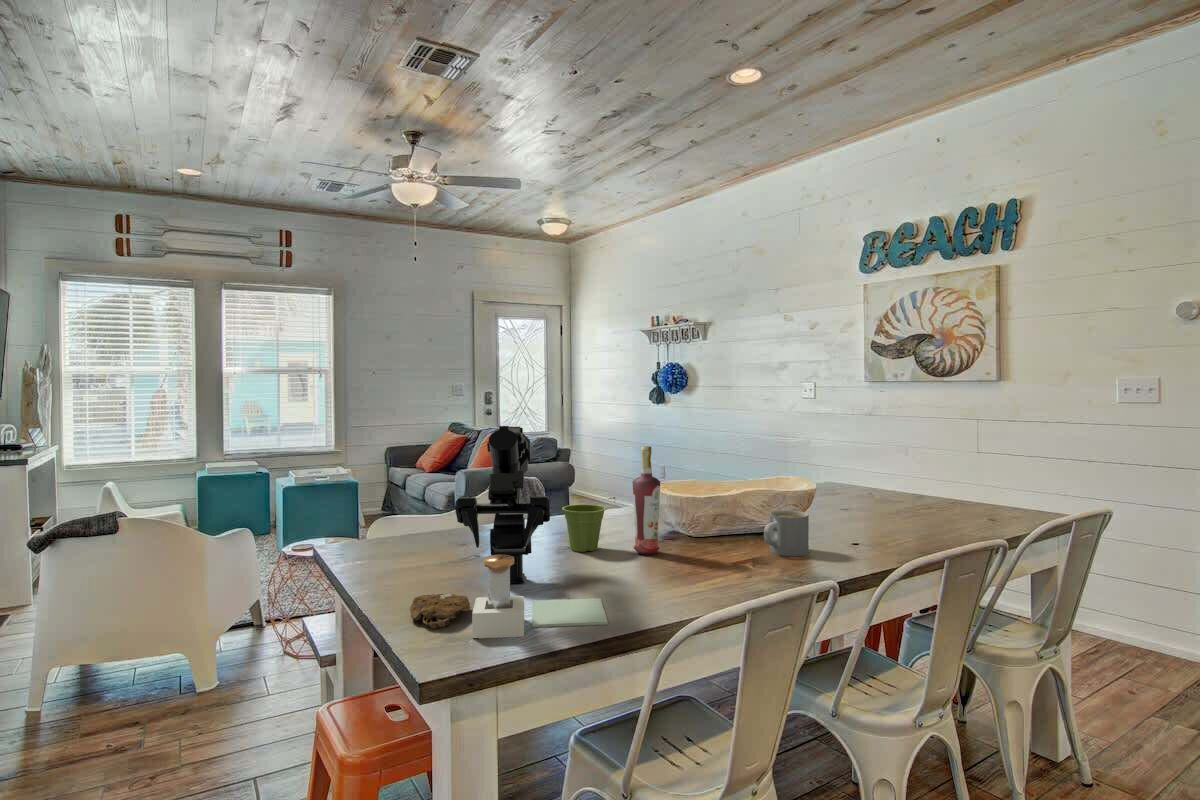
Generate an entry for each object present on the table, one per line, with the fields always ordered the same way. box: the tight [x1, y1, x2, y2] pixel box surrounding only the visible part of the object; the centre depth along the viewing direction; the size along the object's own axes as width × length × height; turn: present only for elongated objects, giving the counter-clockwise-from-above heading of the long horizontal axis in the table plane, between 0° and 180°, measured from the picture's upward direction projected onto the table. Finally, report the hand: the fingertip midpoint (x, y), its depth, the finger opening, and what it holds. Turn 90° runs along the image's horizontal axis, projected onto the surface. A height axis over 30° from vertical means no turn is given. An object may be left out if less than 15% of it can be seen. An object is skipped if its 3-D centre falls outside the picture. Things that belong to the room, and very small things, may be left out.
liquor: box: [632, 446, 661, 556], centre depth 182 cm, size 7×7×28 cm
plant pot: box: [561, 503, 607, 553], centre depth 187 cm, size 12×12×11 cm
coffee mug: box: [763, 509, 810, 557], centre depth 183 cm, size 13×10×10 cm
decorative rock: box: [409, 593, 471, 629], centre depth 134 cm, size 11×4×15 cm
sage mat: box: [531, 597, 609, 628], centre depth 135 cm, size 14×14×1 cm
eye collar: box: [471, 595, 525, 639], centre depth 127 cm, size 9×9×4 cm
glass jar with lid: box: [482, 554, 514, 609], centre depth 127 cm, size 6×6×13 cm
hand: (501, 546), depth 134 cm, fingers open, 9 cm apart
